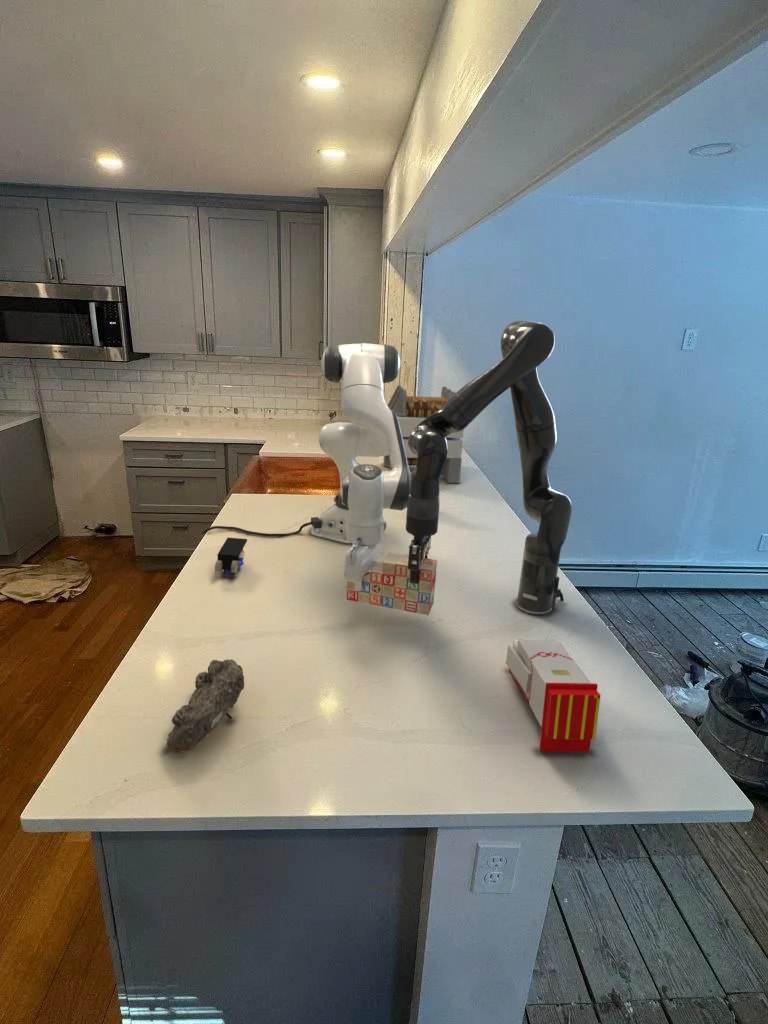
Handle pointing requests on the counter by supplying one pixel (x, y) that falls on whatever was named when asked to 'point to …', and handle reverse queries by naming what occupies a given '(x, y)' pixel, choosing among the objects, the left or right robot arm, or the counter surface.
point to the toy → (556, 694)
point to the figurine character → (230, 556)
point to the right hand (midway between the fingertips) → (418, 575)
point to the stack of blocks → (397, 585)
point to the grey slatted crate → (414, 413)
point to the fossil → (206, 705)
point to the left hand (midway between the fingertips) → (363, 582)
